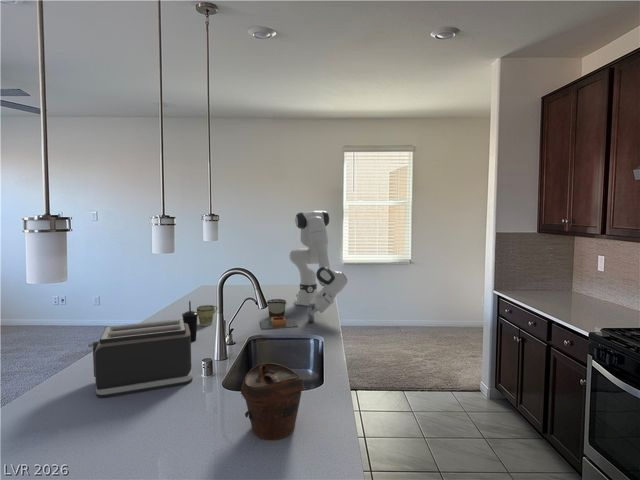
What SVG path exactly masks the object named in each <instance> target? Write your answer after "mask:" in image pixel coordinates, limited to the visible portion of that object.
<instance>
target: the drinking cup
mask: <svg viewBox="0 0 640 480" xmlns="http://www.w3.org/2000/svg"><path fill="white" fill-rule="evenodd" d="M191 305H192V304H191V300H190V301H188V306H189V307H188V309H189V310H188V311H185V312H183V313H182V314H181V316H182V319H183V320H184V323H186V324H188V326H189V330H190V334H191V343H194V342H196V341H197V330H198V329H197V327H198V318H199V317H198V313H197V311H194V310H192V309H191V308H192V307H191Z"/></svg>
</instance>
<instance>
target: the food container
mask: <svg viewBox="0 0 640 480" xmlns="http://www.w3.org/2000/svg"><path fill="white" fill-rule="evenodd" d="M287 304H288V303H287V301H286V300H285V299H282V298H274V299H269V300H267V301H266V305H267V310H268V316H269V317H268V318H271V317H283V316H284V317H285V315H286V305H287Z"/></svg>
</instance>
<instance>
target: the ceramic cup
mask: <svg viewBox="0 0 640 480" xmlns="http://www.w3.org/2000/svg"><path fill="white" fill-rule="evenodd" d="M217 310H218V306H217V305H212V304H205V305H199V306H196V312H197V313H198V317H197V318H198V321H199V325H200V326H202V327H204V326H205V327H207V326H210V325H212V324H213V320H214V314H215V313H216V312H217Z"/></svg>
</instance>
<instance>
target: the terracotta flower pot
mask: <svg viewBox="0 0 640 480" xmlns="http://www.w3.org/2000/svg"><path fill="white" fill-rule="evenodd" d="M303 391H304V392H305V391H306V388H305V384H304V379H303V378H302V376H301V375H300V374H298V373H297V372H296V371H295V370H293V369H291V368H289V367H287V366H285V365H283V364H280V363H279V364H278V363H274V362H264V363H260V364H259V363H258V364H256V365H255V366H254V367H252V368H251V369H250V370H248V371H247V373H246V375H244V377H243V380H242V384H241V389H240V395H242V397H241V399H242V400H243V399H244V400H245V404H246V407H247V410H246V412H245V413H244V415H245V418H248V419H249V421H250V424H251V425H250V426H251V430H252V432H253V434H254V435H256V437H258V438H261V439H263V440H268V441H273V440H274V441H275V440H280V439H283V438H286V437H288V436H290V435H291V434H292V433H293V432H294V430H295V428H296V422H297V418H298V417H297V416H298V413H299V412H298V411H299V407H300V402H301V398H302V392H303Z"/></svg>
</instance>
